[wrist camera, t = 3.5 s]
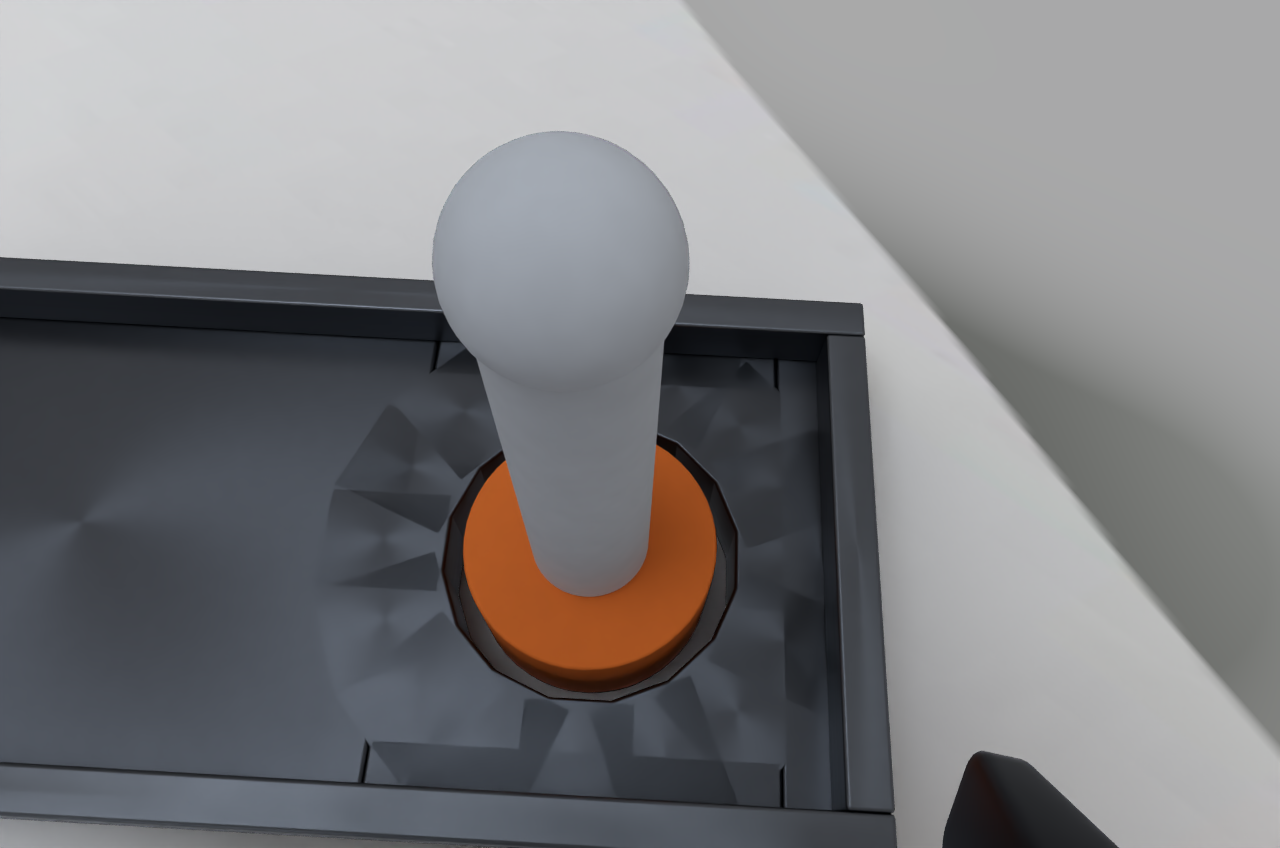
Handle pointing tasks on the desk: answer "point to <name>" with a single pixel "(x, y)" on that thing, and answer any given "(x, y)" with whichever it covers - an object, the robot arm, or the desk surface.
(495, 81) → the desk surface
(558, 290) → the plug
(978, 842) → the robot arm
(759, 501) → the sink
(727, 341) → the sink rim
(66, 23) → the desk surface
